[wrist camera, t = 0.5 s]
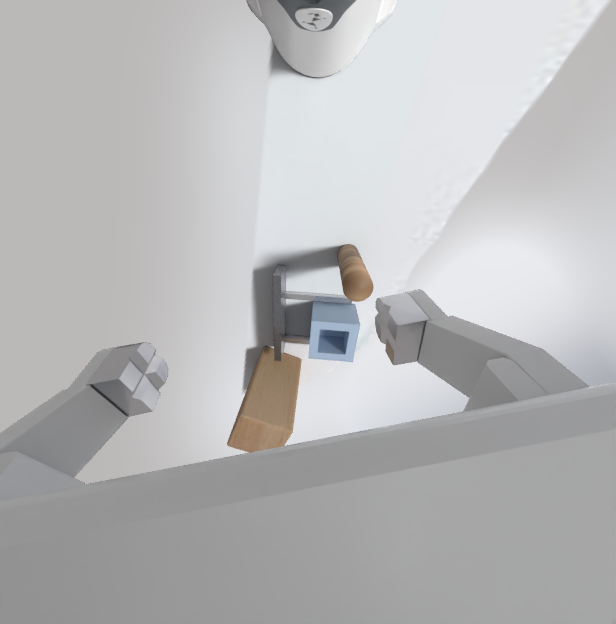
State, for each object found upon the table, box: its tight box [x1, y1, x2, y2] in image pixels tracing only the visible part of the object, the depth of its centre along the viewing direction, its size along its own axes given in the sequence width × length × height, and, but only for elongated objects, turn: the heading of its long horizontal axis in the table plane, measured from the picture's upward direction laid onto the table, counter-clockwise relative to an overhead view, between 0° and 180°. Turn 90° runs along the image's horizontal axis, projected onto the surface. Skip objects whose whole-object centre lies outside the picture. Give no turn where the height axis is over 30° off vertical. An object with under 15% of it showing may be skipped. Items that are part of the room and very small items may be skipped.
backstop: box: [273, 265, 352, 361], centre depth 50 cm, size 20×16×6 cm
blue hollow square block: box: [309, 301, 360, 362], centre depth 49 cm, size 9×9×8 cm
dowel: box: [338, 244, 373, 302], centre depth 39 cm, size 4×4×16 cm
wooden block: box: [227, 346, 301, 453], centre depth 52 cm, size 10×10×20 cm
